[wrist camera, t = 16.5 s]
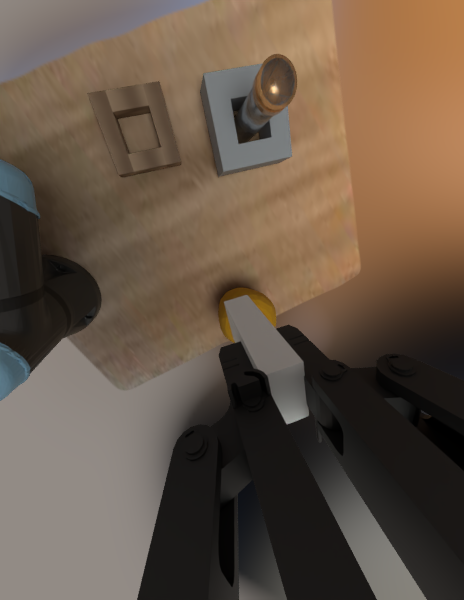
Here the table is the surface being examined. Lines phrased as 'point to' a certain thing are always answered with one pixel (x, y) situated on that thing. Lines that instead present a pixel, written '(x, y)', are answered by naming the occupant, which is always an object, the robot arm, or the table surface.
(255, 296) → the apple
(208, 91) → the socket
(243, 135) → the pin
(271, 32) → the table surface
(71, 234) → the table surface
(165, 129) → the mount
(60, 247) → the table surface
